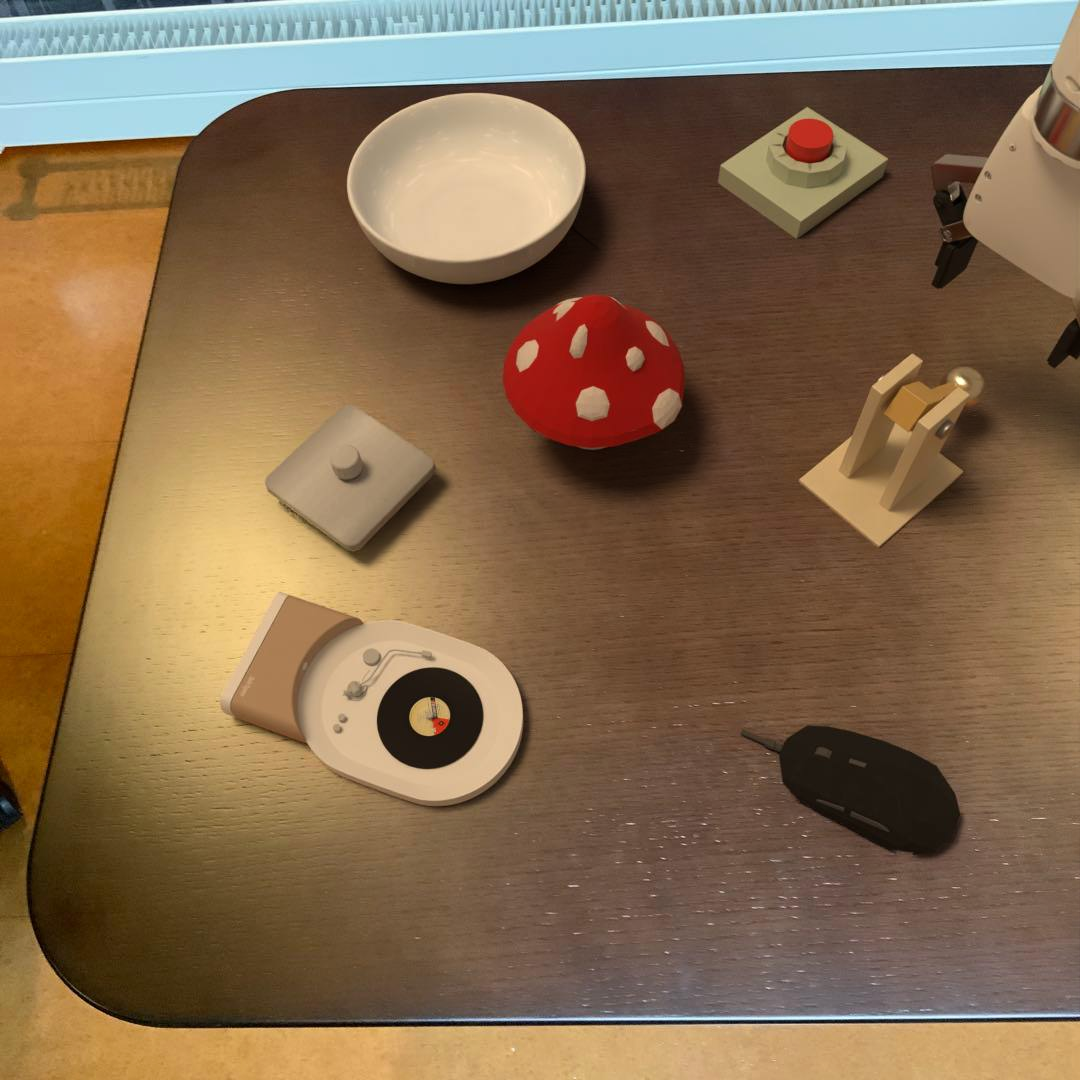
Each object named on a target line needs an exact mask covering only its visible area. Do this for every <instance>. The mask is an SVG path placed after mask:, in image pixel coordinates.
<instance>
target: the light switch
mask: <svg viewBox="0 0 1080 1080" xmlns="http://www.w3.org/2000/svg"><path fill="white" fill-rule="evenodd" d="M436 470H437V468H436V463H435V460H434V458H433V457H432V456H430V455H428V454H427V453H425V452H424V451H422V450H421V449H419V447H417V446H416V445H414V444H412V443H411V442H409V441H408V440H406V439H405V438H403V437H402V436H401V435H399V434H397V433H396V432H394V431H393V430H391V429H390V428H389V427H387V426H385V424H384V423H383V424H382V423H381V422H380V421H379V420H377V419H376V418H374V417H372V416H371V415H369V414H368V413H366V412H364V411H363V410H362V409H360V408H359V407H357V406H355V405H353V404H345V405H343V406H341V407H340V408H339V409H338V410H336V411H335V412H334V413H333V415H331V416H330V417H329V418H328V419H326V421H324V423H322V424H321V425H320V426H319V428H317V429H316V430H314V432H313V433H312V434H311V435H310V436H309V437H308V438H306V440H304V441H303V442H302V443H301V444H300V445H299V446H298V447H297V448H296V449H295V450H293V451H292V453H291V454H289V455H288V456H287V457H286V458H285V459H284V460H283V461H282V462H281V463H279V464H278V466H276V468H274V469H273V470H272V471H271V472H270V473H269V474H267V476H266V478H265V481H264V485H265V488H266V490H267V493H269V494H270V495H272V497H274V498H276V499H277V500H278V501H280V503H282V504H283V505H285V506H286V507H288V508H289V509H290V510H292V511H293V512H294V513H296V514H297V515H299V516H300V517H301V518H303V519H304V520H306V521H307V522H308V523H310V525H312V526H314V527H315V528H316V529H318V530H319V531H320V532H322V533H323V534H325V536H327V537H328V538H330V539H331V540H333V542H336V543H337V544H338V545H340V546H341V547H342V548H344V549H345V550H346V551H349V552H355V551H359V550H361V549H362V548H363V547H364V546H365V544H367V543H368V541H370V540H371V539H372V538H373V537H374V535H376V534H377V532H378V531H380V530H381V528H382V527H383V526H384V525H386V523H388V521H390V519H391V518H392V517H394V515H396V513H397V512H399V510H400V509H401V508H402V507H403V506H404V505H405V504H406V503H407V502H408V501H409V500H410V499H411V498H412V497H413V496H414V495H415V494H416V493H417V492H418V491H419V490H420V489H421V487H423V486H424V485H425V484H426V483H427V482H428V481H429V480H430V479H431V478H432V477H433V476H434V475H435V473H436Z"/></svg>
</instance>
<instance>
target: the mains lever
mask: <svg viewBox="0 0 1080 1080" xmlns="http://www.w3.org/2000/svg"><path fill="white" fill-rule="evenodd" d="M958 387H960V388H961V389H963V390H964V391H965V392H967V393H968V394H969V395H970V396H969V398H968V400H967V402H966V404H965V405H964V407H963V409H962V410H965V409H968V408H971V407H973V406H975V405H977V403H979V402H980V401H981V399H982V398H983V396H984V394H985V391H986V390H985V389H986V384H985V379H984V377H983V376H982V374H981V373H980V372H979V371H978V370H977V369H975V368H973V367H970V366H963V365H962V366H957V367H954V368H952V369H949V371H947V372H946V373H945V374H944V375H943V376H942V379H941V381H940V383H939V386H936V387H933V388H930V387H928V386H927V385H925V384H924V383H923V382H921V380H917V381H914V383H911V384H908V385H905V386H902V388H901V389H900V390H899V392H898V393H897V395H896V396H895V398H894V399H893V400H892V402H891V403H890V405H889V406H888V408H887V409H886V411H885V412H884V414H885V415H886V416H887V417H889V418H890V419H891V420H893V421H894V422H895V423H897V424H898V425H899V426H901V427H902V428H903V429H904V430H906V431H907V432H910V431H911V432H913V430H914V428H915V426H916V424H917V422H918V421H919V420H920V419H921V418H922V417H923V416H924V415H926V414H927V413H928V412H929V411H930V410H932V409H933V408H934V407H935V406H936V405H937V404H939V403H940V402H941V401H942V400H943V399H945V398H946V397H947V396H948V395H949V394H950V393H952V392H953V391H954V390H955V389H956V388H958Z"/></svg>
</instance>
